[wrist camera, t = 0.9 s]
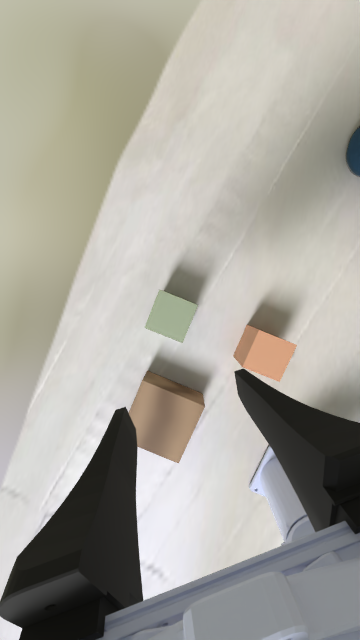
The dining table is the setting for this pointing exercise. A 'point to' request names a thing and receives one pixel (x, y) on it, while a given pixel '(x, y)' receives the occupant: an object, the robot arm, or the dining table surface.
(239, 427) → the dining table surface
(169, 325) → the green cube
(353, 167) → the soda can
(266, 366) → the terracotta cube
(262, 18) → the dining table surface
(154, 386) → the walnut block
